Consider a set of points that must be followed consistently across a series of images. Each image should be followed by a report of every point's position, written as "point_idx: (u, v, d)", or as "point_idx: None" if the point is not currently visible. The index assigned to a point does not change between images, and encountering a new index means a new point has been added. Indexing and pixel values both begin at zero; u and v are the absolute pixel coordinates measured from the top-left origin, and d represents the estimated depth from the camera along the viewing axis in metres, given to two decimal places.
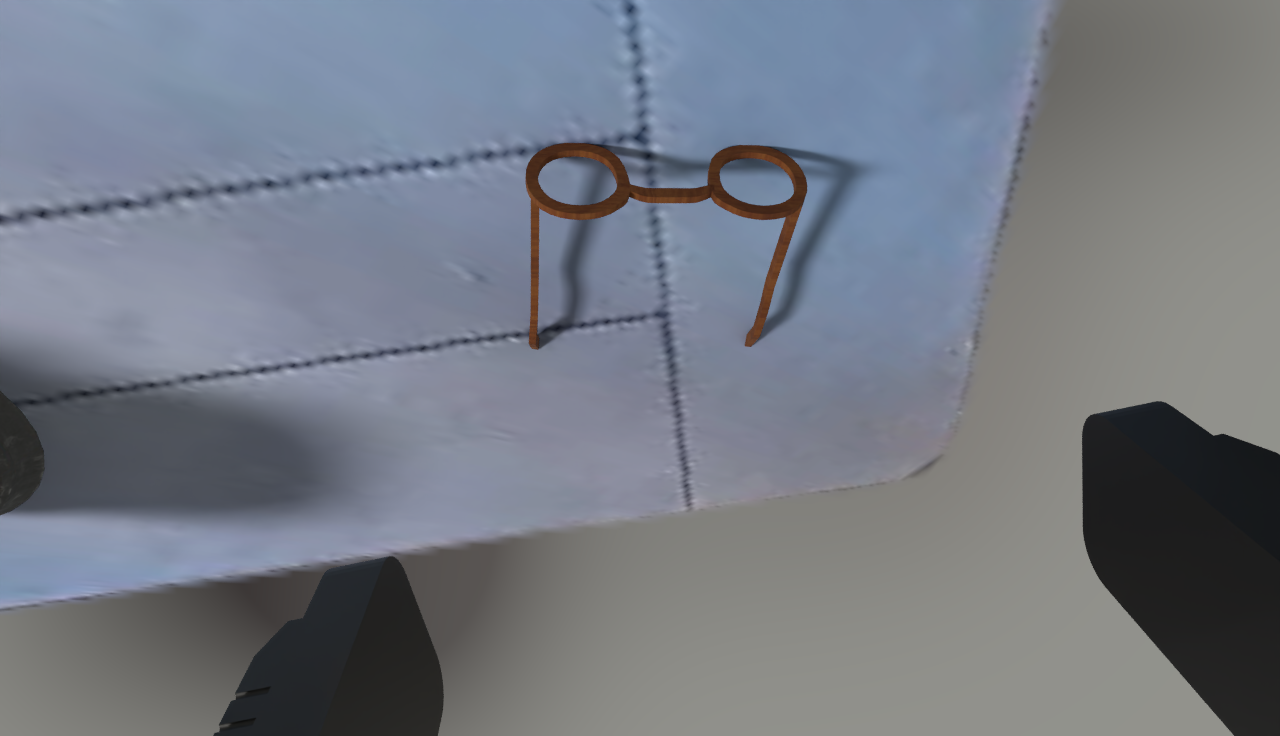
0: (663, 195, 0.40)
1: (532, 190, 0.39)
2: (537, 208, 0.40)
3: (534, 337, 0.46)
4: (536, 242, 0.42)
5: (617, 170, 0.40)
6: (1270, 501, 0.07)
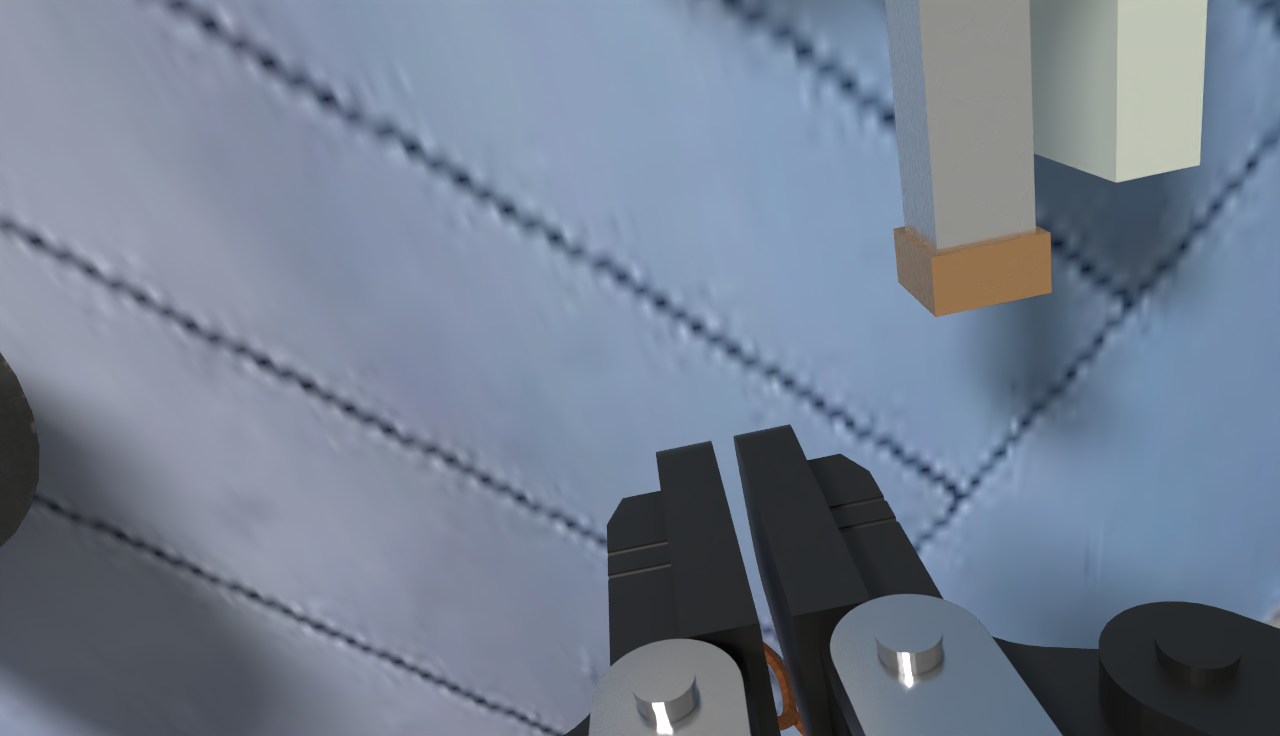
0: None
1: None
2: None
3: None
4: None
5: (788, 689, 0.43)
6: (806, 516, 0.09)
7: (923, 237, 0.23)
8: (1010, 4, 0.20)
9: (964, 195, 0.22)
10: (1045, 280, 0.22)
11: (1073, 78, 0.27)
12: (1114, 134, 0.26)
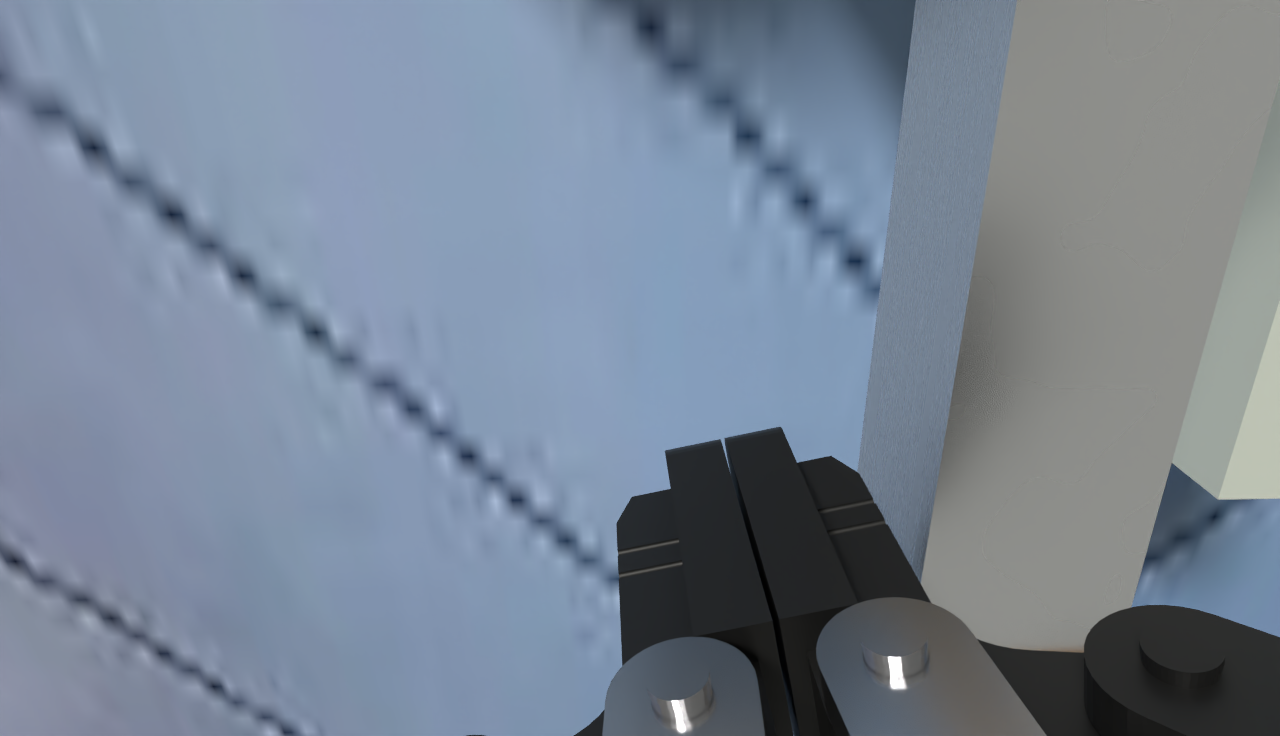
0: None
1: None
2: None
3: None
4: None
5: None
6: (794, 518, 0.09)
7: None
8: (1202, 196, 0.08)
9: (990, 571, 0.10)
10: None
11: None
12: (1235, 420, 0.14)
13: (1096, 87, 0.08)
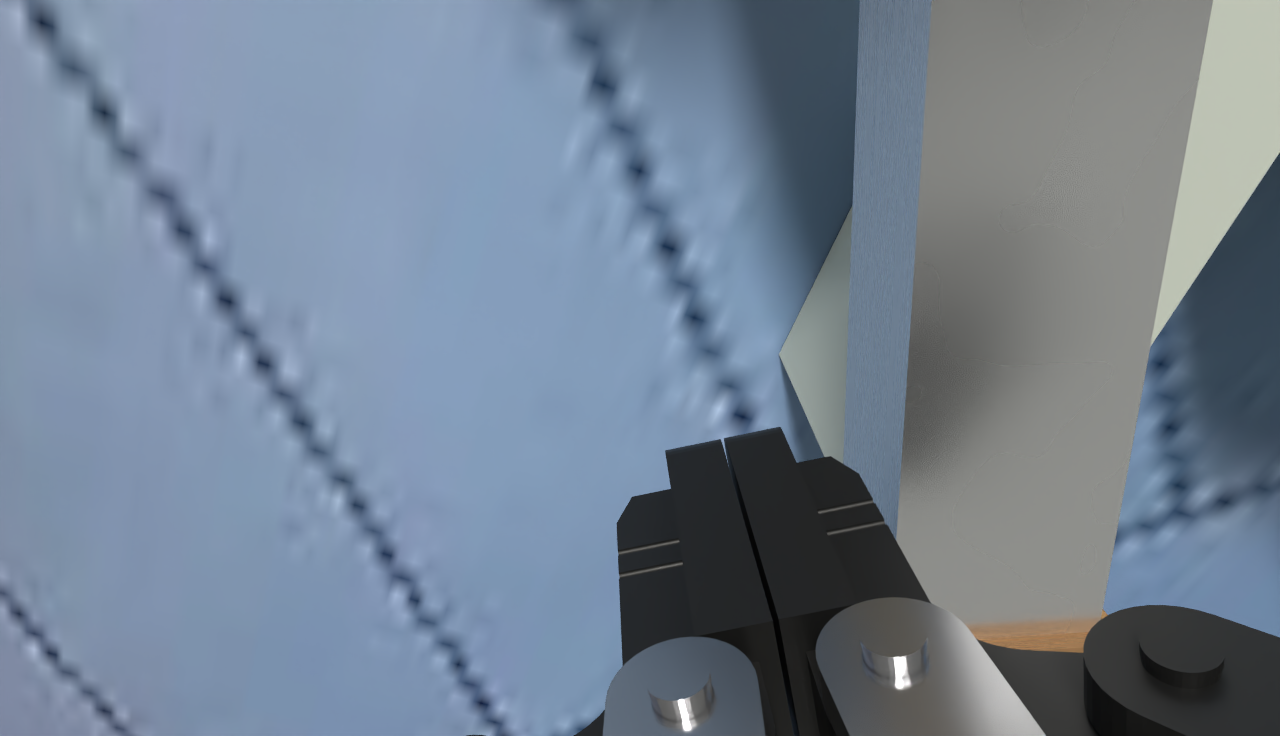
0: None
1: None
2: None
3: None
4: None
5: None
6: (793, 518, 0.09)
7: None
8: (1137, 171, 0.08)
9: (962, 547, 0.10)
10: None
11: None
12: None
13: (1019, 73, 0.08)
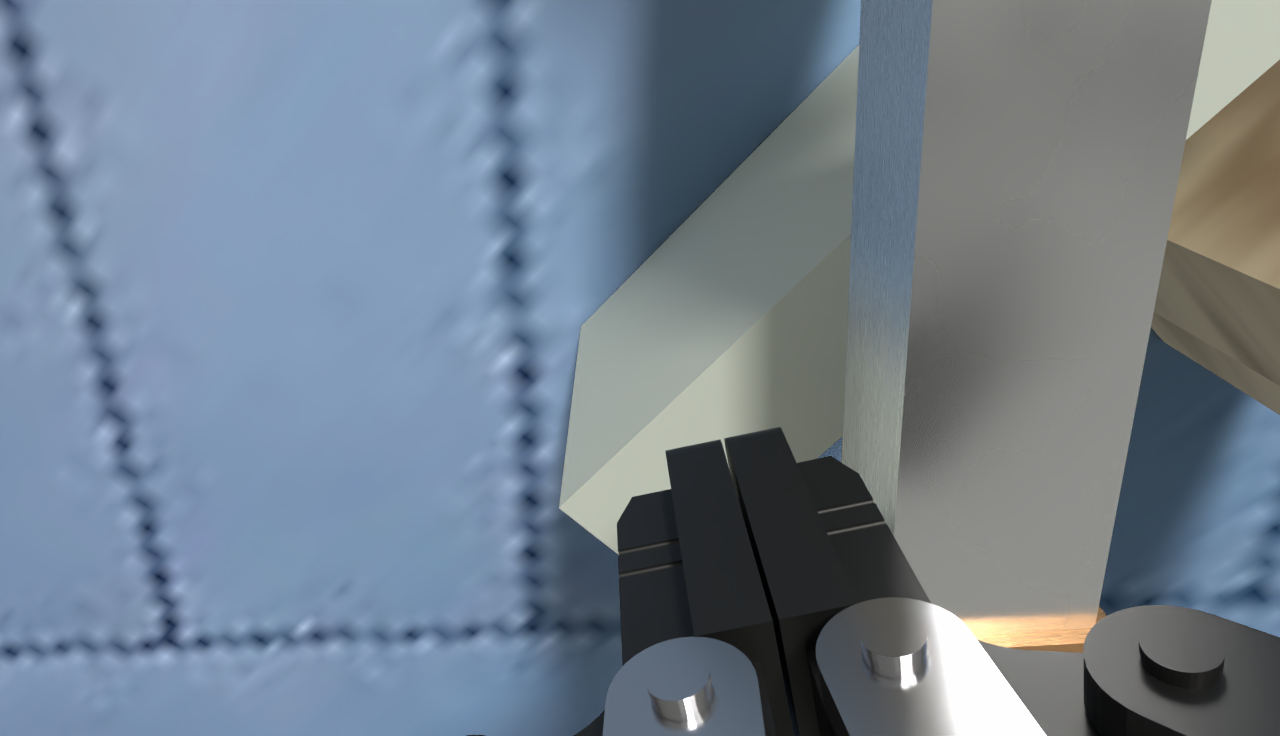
0: None
1: None
2: None
3: None
4: None
5: None
6: (794, 518, 0.09)
7: None
8: (1136, 167, 0.08)
9: (960, 542, 0.10)
10: None
11: (667, 342, 0.16)
12: (616, 449, 0.15)
13: (1019, 68, 0.08)
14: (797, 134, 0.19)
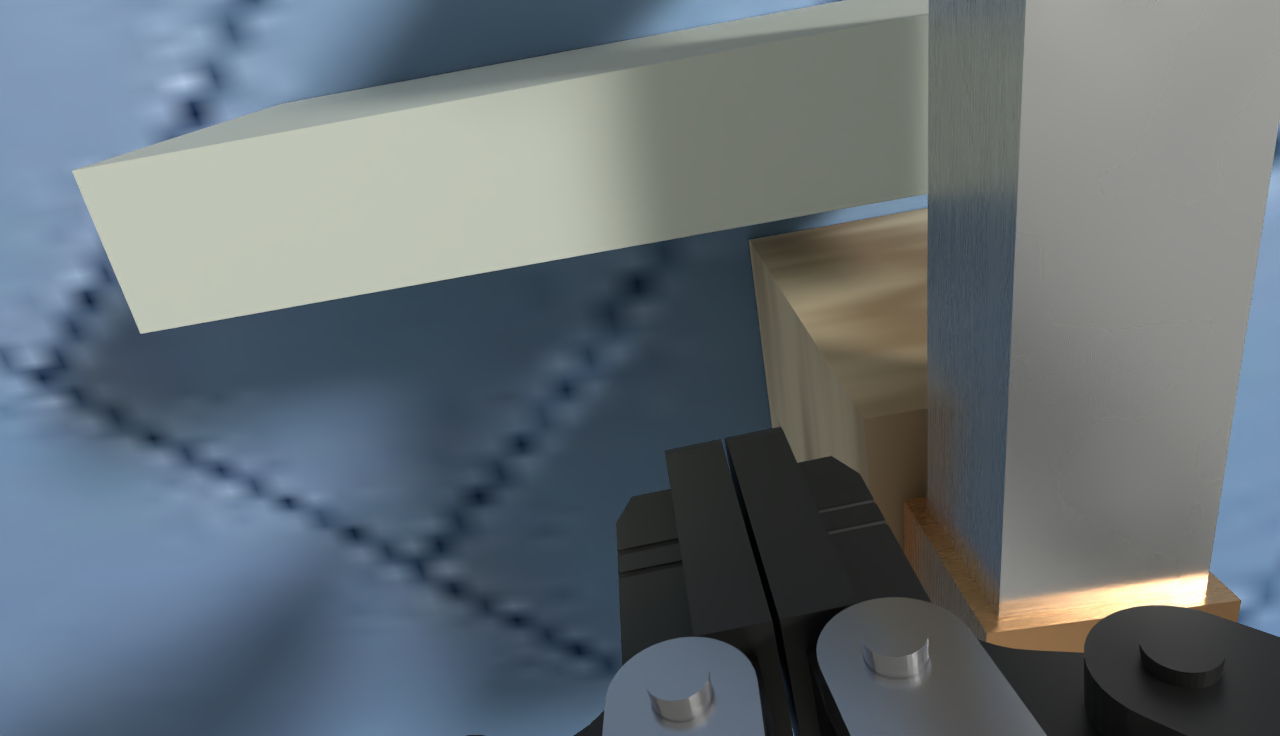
0: None
1: None
2: None
3: None
4: None
5: None
6: (794, 518, 0.09)
7: (966, 555, 0.11)
8: (1234, 126, 0.08)
9: (1069, 514, 0.10)
10: None
11: (318, 114, 0.15)
12: (174, 150, 0.12)
13: (1116, 37, 0.08)
14: (583, 52, 0.19)
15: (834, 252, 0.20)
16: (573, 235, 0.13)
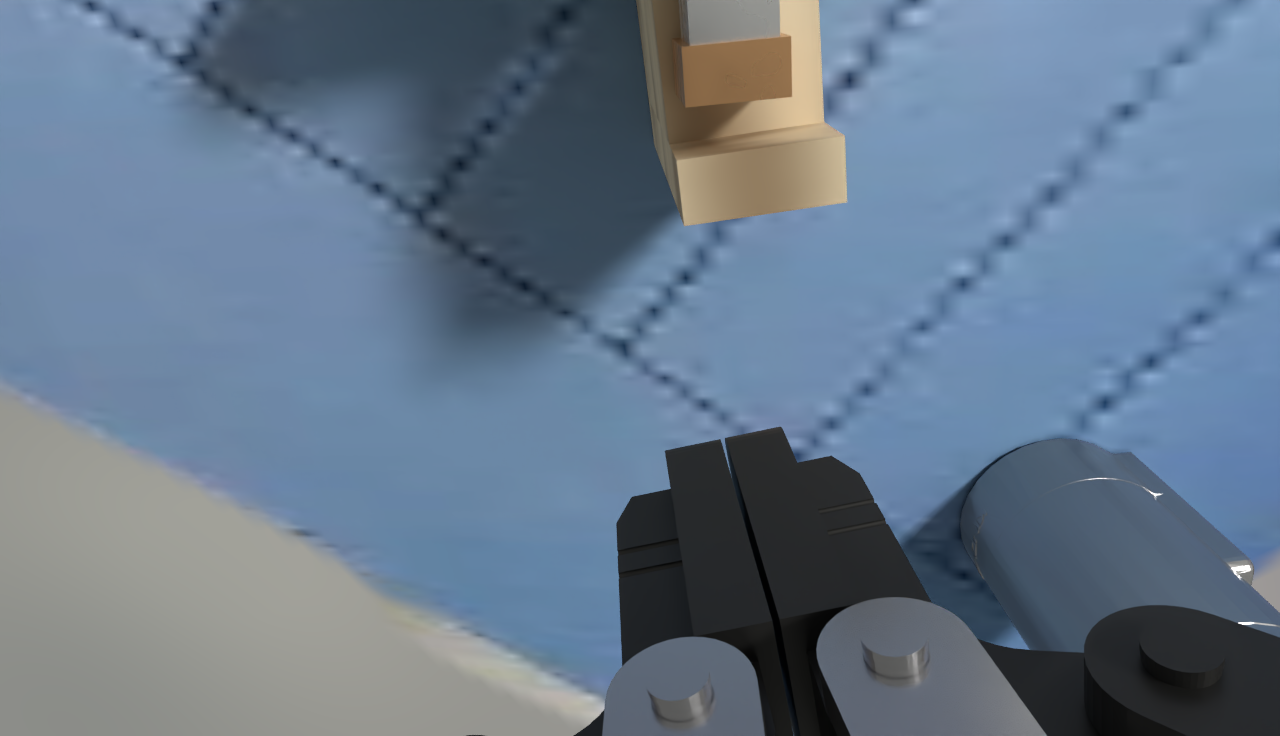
0: None
1: None
2: None
3: None
4: None
5: None
6: (794, 518, 0.09)
7: (685, 36, 0.25)
8: None
9: None
10: (786, 84, 0.24)
11: None
12: None
13: None
14: None
15: None
16: None
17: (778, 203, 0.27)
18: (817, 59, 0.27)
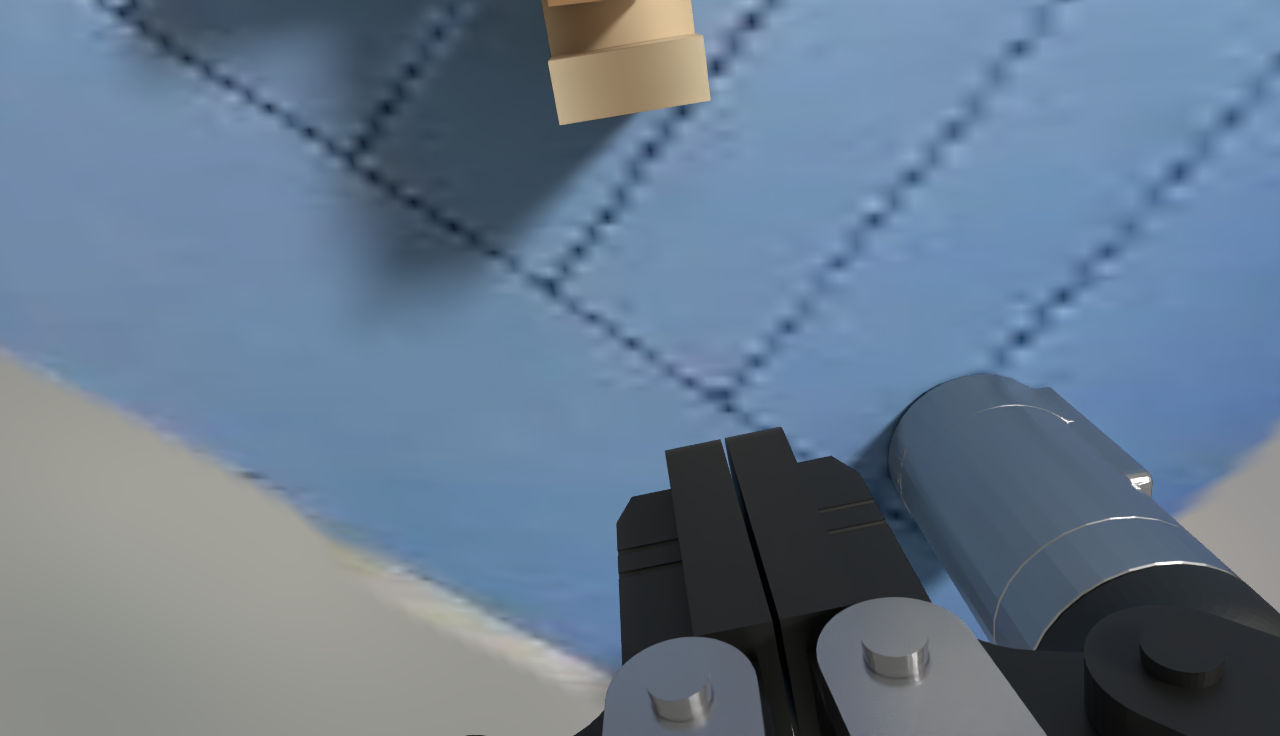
0: None
1: None
2: None
3: None
4: None
5: None
6: (794, 518, 0.09)
7: None
8: None
9: None
10: None
11: None
12: None
13: None
14: None
15: None
16: None
17: (646, 102, 0.29)
18: None
